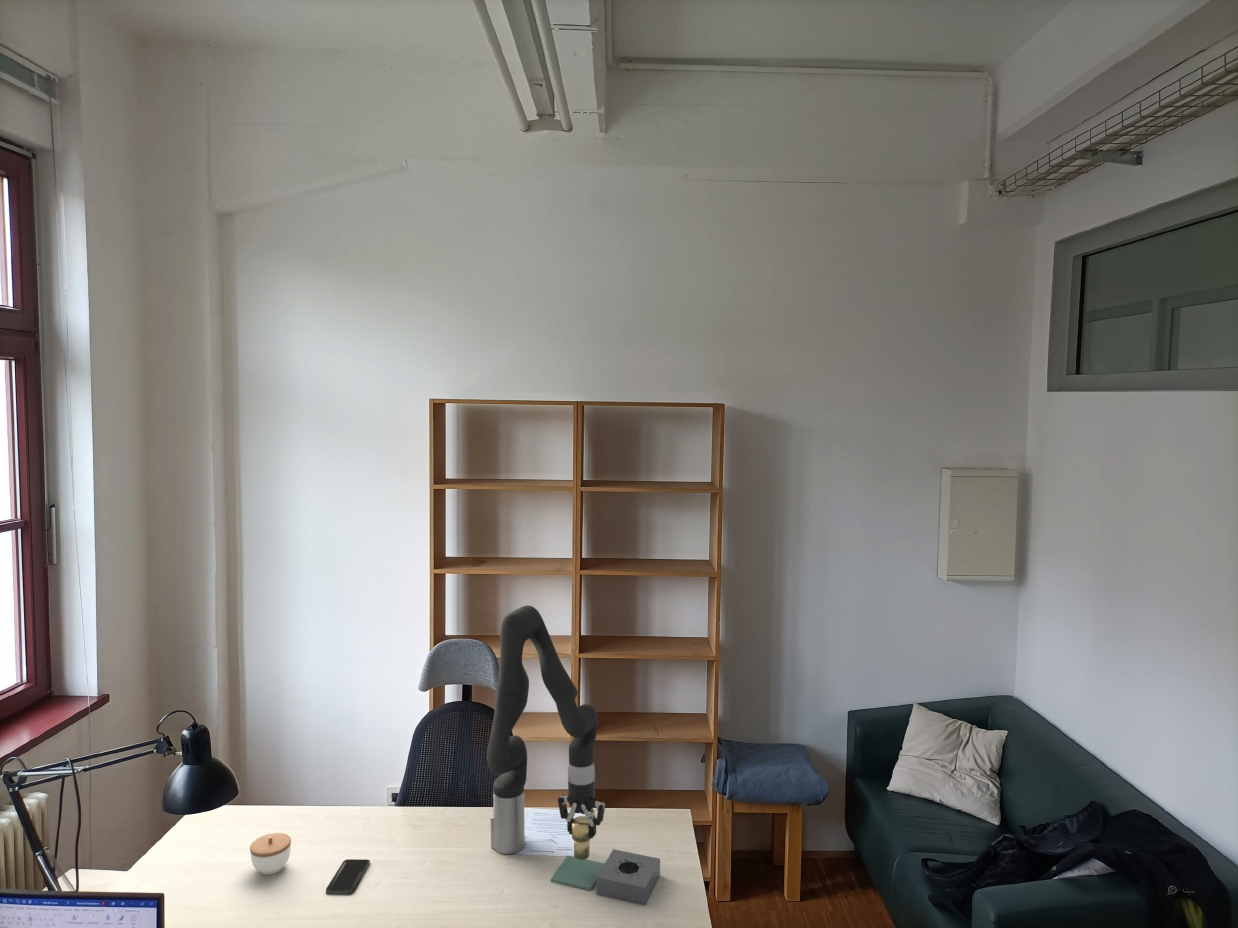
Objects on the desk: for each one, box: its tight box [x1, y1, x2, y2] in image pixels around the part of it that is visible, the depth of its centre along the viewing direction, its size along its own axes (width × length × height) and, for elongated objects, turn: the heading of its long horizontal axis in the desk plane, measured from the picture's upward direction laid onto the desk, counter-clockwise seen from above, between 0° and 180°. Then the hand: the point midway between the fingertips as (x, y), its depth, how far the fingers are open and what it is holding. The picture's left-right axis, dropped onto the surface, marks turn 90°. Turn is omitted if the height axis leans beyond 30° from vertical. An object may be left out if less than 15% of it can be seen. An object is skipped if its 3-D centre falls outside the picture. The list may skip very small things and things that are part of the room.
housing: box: [595, 849, 661, 906], centre depth 220 cm, size 14×14×5 cm
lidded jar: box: [249, 832, 292, 876], centre depth 227 cm, size 11×11×9 cm
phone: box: [325, 858, 371, 896], centre depth 224 cm, size 8×1×15 cm
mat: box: [550, 855, 605, 892], centre depth 226 cm, size 12×12×1 cm
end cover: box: [571, 815, 591, 860], centre depth 224 cm, size 6×6×10 cm
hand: (581, 834), depth 224 cm, fingers closed on end cover, 5 cm apart
